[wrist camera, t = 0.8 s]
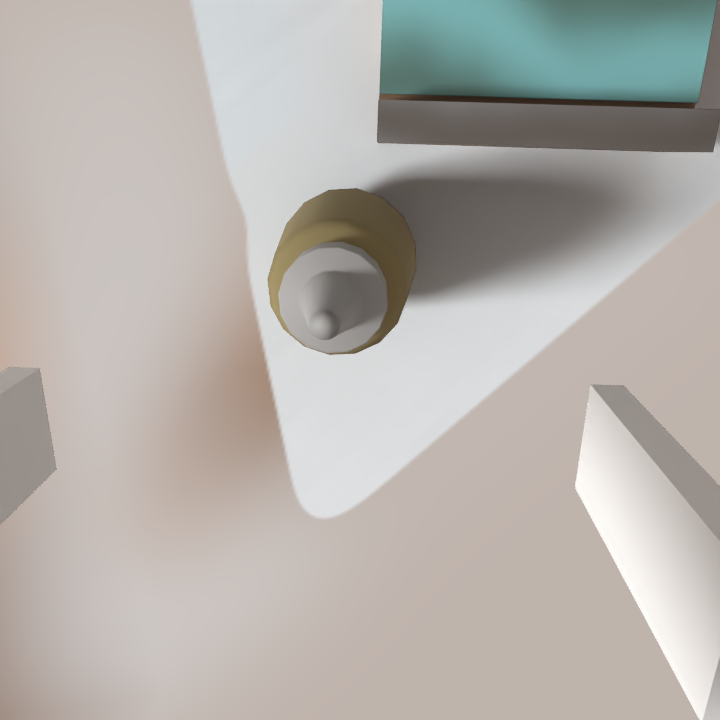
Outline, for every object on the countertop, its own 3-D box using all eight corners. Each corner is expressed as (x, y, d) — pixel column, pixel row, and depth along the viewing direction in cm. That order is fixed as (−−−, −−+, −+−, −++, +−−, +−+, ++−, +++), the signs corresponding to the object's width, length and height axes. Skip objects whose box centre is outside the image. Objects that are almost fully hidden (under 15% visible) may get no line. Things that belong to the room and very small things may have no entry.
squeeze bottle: (424, 193, 38) (453, 228, 21) (403, 319, 41) (416, 439, 24) (294, 175, 38) (221, 196, 21) (282, 302, 41) (208, 410, 24)
